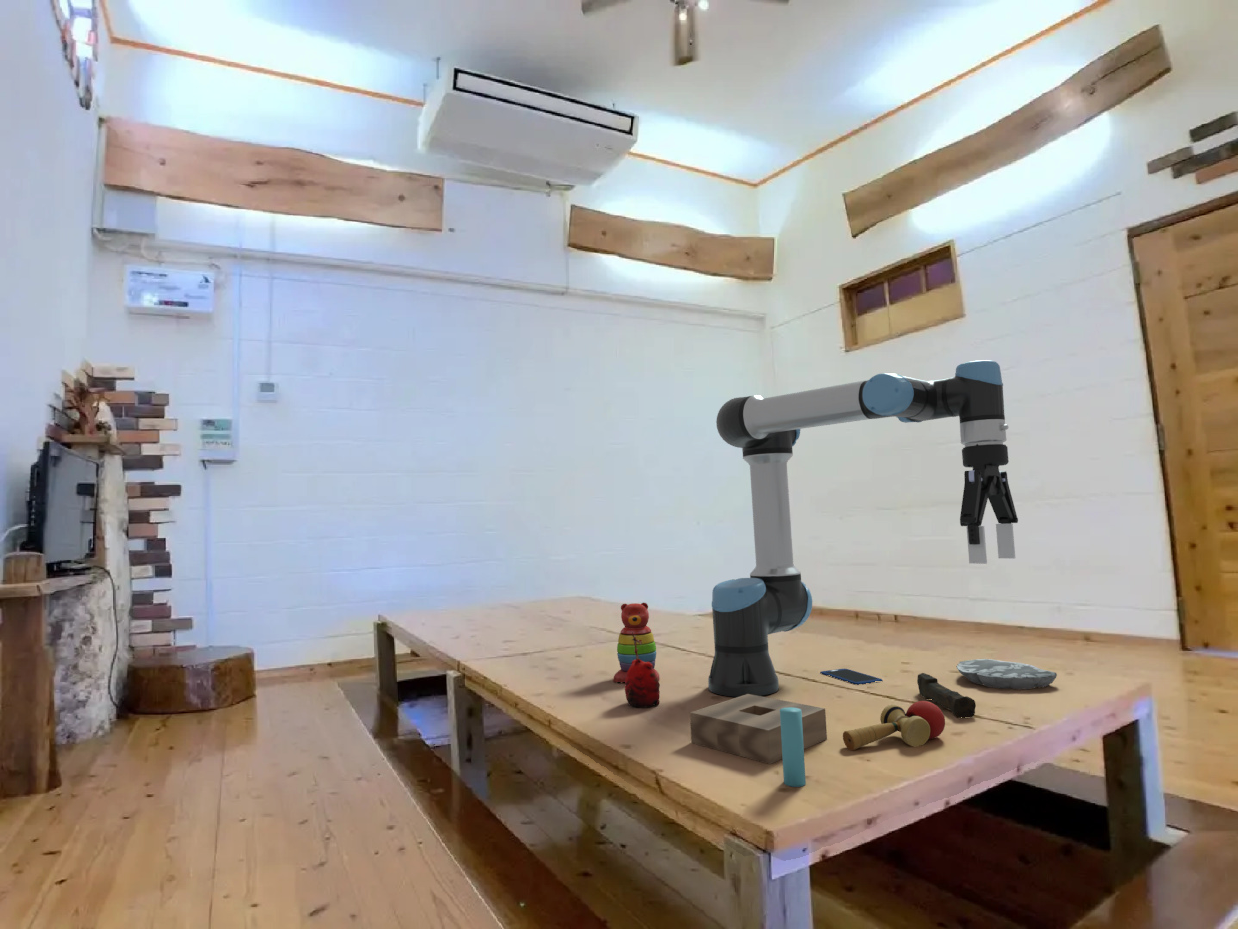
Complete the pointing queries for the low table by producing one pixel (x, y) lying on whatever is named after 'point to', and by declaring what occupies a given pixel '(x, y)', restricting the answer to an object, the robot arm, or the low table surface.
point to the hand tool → (945, 696)
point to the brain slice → (1005, 674)
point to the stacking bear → (634, 622)
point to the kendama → (901, 725)
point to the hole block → (753, 726)
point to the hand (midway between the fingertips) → (993, 561)
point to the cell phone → (851, 676)
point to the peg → (792, 747)
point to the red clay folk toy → (641, 682)
